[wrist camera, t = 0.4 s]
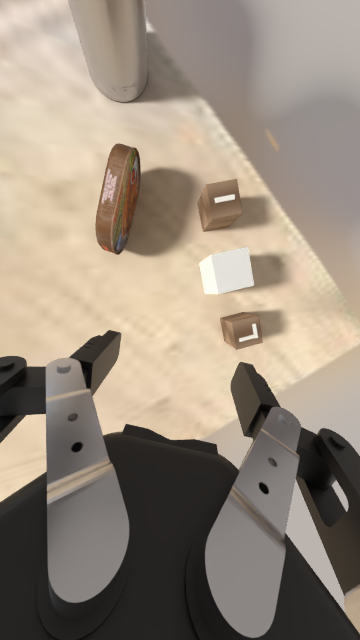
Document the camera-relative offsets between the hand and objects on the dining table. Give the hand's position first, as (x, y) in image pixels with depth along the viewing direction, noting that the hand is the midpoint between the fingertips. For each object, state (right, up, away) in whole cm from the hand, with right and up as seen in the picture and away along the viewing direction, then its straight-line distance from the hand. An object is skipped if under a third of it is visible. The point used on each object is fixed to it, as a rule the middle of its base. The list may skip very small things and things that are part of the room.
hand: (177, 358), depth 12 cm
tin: (-10, +21, +21) cm, 31 cm away
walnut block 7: (+11, +1, +26) cm, 29 cm away
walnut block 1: (+6, +22, +22) cm, 32 cm away
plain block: (+7, +11, +24) cm, 28 cm away
